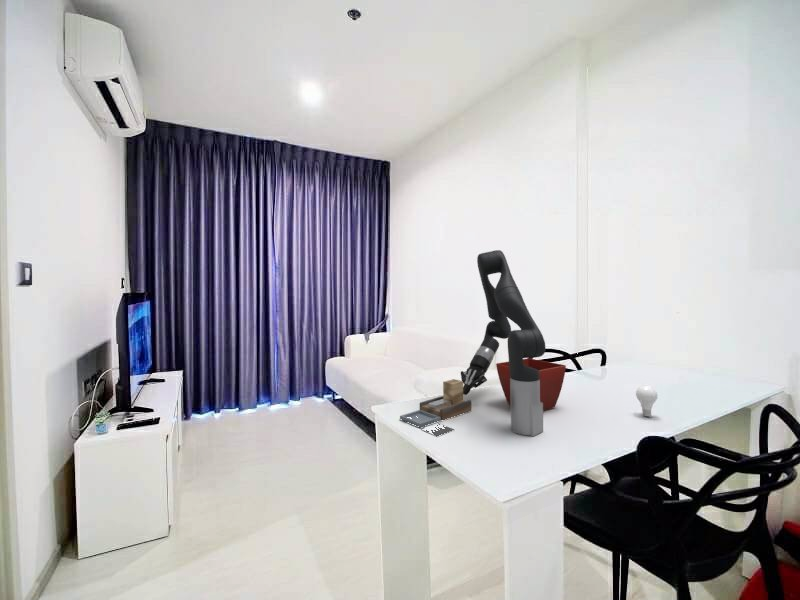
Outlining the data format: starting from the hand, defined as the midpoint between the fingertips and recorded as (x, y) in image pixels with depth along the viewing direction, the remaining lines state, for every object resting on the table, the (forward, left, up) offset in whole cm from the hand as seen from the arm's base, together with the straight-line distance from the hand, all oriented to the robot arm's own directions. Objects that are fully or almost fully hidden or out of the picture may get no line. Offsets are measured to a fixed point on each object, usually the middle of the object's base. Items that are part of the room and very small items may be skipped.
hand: (463, 393), depth 147 cm
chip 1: (0, +16, -2) cm, 16 cm away
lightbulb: (-53, -37, -5) cm, 65 cm away
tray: (0, +24, -5) cm, 24 cm away
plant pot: (-19, -18, -5) cm, 27 cm away
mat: (-11, +26, -5) cm, 28 cm away
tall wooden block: (0, +6, -2) cm, 6 cm away
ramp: (0, +11, -5) cm, 12 cm away
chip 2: (0, +12, -2) cm, 12 cm away
